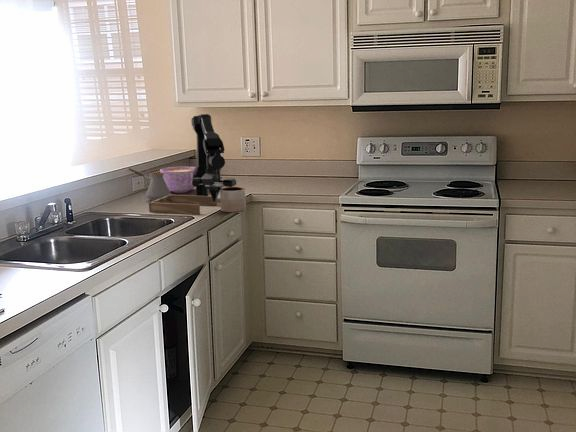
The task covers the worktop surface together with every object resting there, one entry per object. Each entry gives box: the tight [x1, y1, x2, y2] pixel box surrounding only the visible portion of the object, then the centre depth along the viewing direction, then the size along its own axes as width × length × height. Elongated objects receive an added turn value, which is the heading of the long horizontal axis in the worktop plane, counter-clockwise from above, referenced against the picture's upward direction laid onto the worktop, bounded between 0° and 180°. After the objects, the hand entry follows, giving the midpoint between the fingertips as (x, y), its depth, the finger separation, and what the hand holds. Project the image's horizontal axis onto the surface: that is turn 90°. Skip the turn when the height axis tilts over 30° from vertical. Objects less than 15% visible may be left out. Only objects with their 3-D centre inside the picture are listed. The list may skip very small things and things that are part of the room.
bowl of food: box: [159, 166, 196, 194], centre depth 324 cm, size 20×20×12 cm
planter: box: [219, 186, 247, 214], centre depth 274 cm, size 11×11×10 cm
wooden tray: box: [148, 194, 218, 215], centre depth 281 cm, size 20×24×4 cm
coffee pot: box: [126, 167, 172, 202], centre depth 302 cm, size 21×12×15 cm, turn 74°
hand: (214, 201), depth 277 cm, fingers closed
